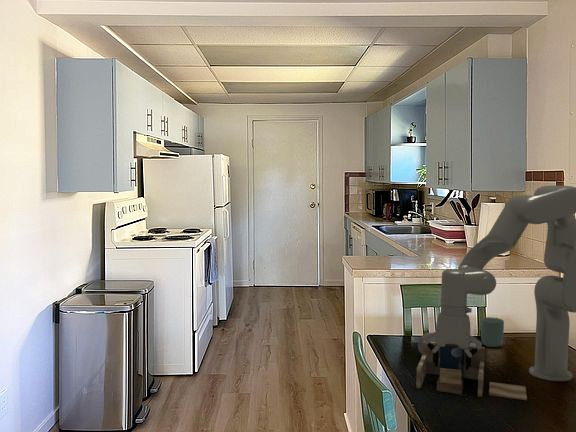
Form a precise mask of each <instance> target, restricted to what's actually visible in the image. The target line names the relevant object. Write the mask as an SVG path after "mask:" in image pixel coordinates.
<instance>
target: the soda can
mask: <svg viewBox="0 0 576 432" xmlns="http://www.w3.org/2000/svg"><path fill="white" fill-rule="evenodd" d="M440 368H446V369H456V370H461V373H462V377H461V380H462V381H463V382H464V378H463V371H464V350H462V349H460V348H459V346H453V345H447V344H445V346H444V347H441V349H440Z"/></svg>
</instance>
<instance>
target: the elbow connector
mask: <svg viewBox="0 0 576 432" xmlns="http://www.w3.org/2000/svg"><path fill="white" fill-rule="evenodd" d="M432 333H433V332H425V333H423V334H422V335H421V336H420V337H419V339H418V341H417V350H418V351H419V353H420V354H421V356H423V342H424V337H425V336H427V335H429V334H432ZM430 342H435V337H434V338H432V339H430ZM469 346H476V344H474V343H473V342H470V345H469Z"/></svg>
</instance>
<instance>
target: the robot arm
mask: <svg viewBox="0 0 576 432" xmlns="http://www.w3.org/2000/svg"><path fill="white" fill-rule="evenodd" d="M575 214H576V187H575V186H572V185H571V186H570V185H544V186H543V185H542V186H540V187H538V188H536V190H535V191H534V193H533V194H531V195H527V194H526V195H525V194H519V195H514V196H512V197H511V198H509V199H508V201H507V202H506V203H505V205H504V207H503V209H502V210H501V212H500V214H499V215H498V216H497V219H496V220H495V222H494V223H493V225H492V227H491V229H490V230H489V232H488V234H486V235H485V236H484V237H483V238H482V239H481V240H480V241H478V242H477V243H475V245H474V246H473V247H471V249H470V250H468V252H467V253H466V255H464V257H463V259H462V261H461V262H460V264H459V265H458V268H449V269H448V268H447V269H445V270H443V271H442V273H441V284H440V285H441V287H440V288H441V293H440V294H441V295H440V312H438V313H437V319H436V325H435V326H436V327H435V331H433V332H431V333H432V334H429V335H427V336H425V337H424V341H425V342H426V344H427V346H428V347H429V349H430V350H431V351H432V353H433V363H435V366H437V365H438V353H439V352H438V349H439V348H440V347H444V346H445V344H447V345H453V346H459V348H460V349H462V350H464V351H465V352H466V354H467V355H466V370H468V368H469V367H471V357H472V356H473V355H474V354H475V353H476V352H477V351H478V350H479V349H480V347H483V346H482V345H483V342H482V341H481V340H478V339H477V338H476V337H474V336H473V335H471V320H470V316H469V313H470V314H471V313H473V312H472V311H473V310H472V307H469V306H467V304H468V301H467V300H468V295H477V296H486V295H489V294H491V293H493V291H494V290H495V289H496V287H497V280H496V276H494V275H493V274H492V273H491V272H490V271H488V270H485V269H484V268H485V266H486V265H487V264H488V263H489V262H490V261H491V260H492V259H494V258H496V257H497V256H500V255H503V254H506V253H507V252H510V251H512V250H513V249H514V248H515V247H516V246H517V243H518V242H519V241H520V238H521V237H522V235H523V234H524V231H525V229H526V228H527V227H528V225H529V224H530V225H542V224H547V232H546V233H547V234H546V241H545V245H544V246H545V247H544V255H543V263H544V266H545V267H546V268H547V269H549V270H550V271H552V272H557V273H560V274H563V277H561V276H557V275H551V274H550V275H544V276H542V277H541V278H539V279H538V280H537V282H536V283H535V286H534V290H533V292H534V300H535V306H536V307H535V310H536V324H535V325H536V326H535V345H534V349H535V350H534V365H533V366H530V367H529V369H528V372H529V374H530V375H531V376H533V377H534V378H538V379H540V380H541V379H542V380H545V381H550V382H551V381H552V382H568V381H572V380H573V378H574V376H573V372H571V371H569V370H568V363H569V362H568V361H569V340H570V337H569V336H570V322H571V321H570V316H569V313H576V216H575ZM434 337H435V344H436V345H435V346H434V345H433V344H432V343H431V342H430V339H432V338H434ZM470 343H474V344H476V346H475V347H474V348H473V349H472V350H471V349H470V348H469V345H470Z"/></svg>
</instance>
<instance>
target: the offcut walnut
mask: <svg viewBox="0 0 576 432" xmlns="http://www.w3.org/2000/svg"><path fill="white" fill-rule="evenodd" d="M436 392H442V393H443V392H444V393H448V394H449V393H450V394H456V395H462V394H463V392H464V380H463V381H462V380H461V384H451V383H441V382H440V376H439V377H438V379H437V381H436Z"/></svg>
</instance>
